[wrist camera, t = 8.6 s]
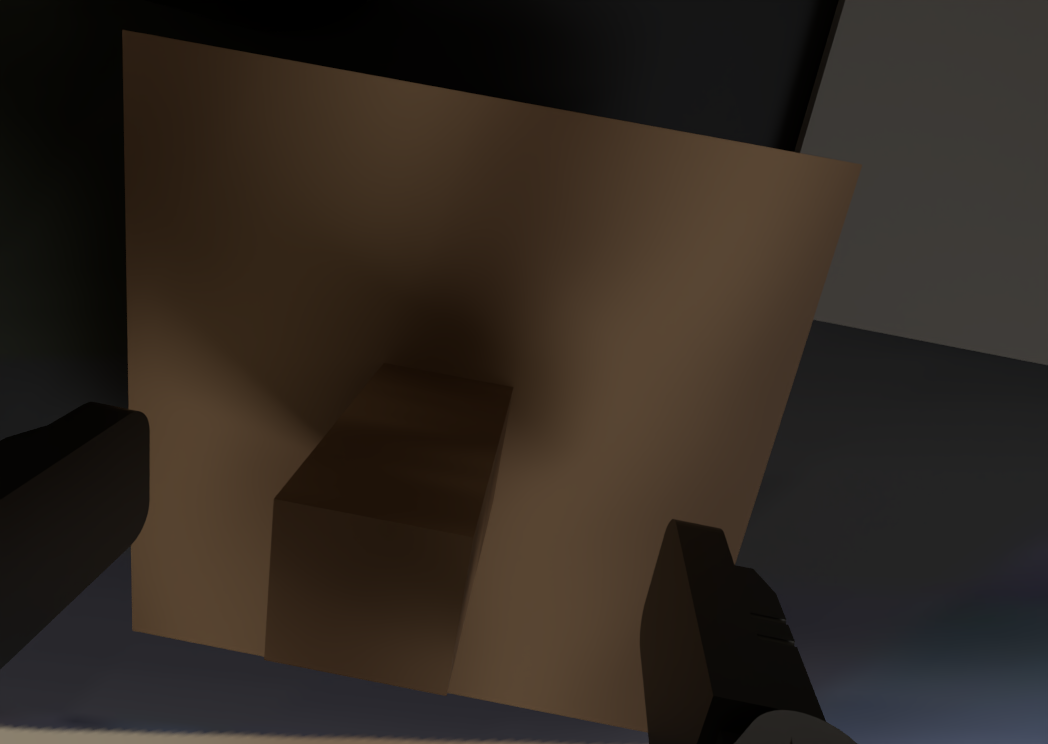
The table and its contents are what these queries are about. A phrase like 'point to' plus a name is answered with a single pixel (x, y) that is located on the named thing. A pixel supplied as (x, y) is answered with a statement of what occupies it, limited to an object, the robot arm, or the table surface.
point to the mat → (939, 170)
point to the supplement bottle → (269, 12)
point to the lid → (445, 367)
